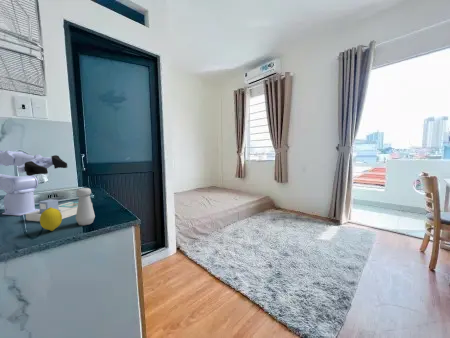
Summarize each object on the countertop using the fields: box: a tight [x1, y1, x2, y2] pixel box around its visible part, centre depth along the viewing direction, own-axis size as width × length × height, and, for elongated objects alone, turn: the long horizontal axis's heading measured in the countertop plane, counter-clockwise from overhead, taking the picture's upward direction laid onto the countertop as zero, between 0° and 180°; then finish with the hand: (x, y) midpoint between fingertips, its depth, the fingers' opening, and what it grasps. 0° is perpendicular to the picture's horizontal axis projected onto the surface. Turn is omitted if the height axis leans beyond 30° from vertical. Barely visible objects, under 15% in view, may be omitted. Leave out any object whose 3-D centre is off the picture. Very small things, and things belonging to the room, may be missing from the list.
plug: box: [38, 198, 59, 214], centre depth 78 cm, size 4×4×7 cm
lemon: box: [39, 207, 63, 232], centre depth 66 cm, size 6×6×8 cm
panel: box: [25, 201, 94, 222], centre depth 83 cm, size 12×18×3 cm, turn 169°
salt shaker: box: [75, 187, 96, 226], centre depth 72 cm, size 6×6×13 cm
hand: (56, 168), depth 79 cm, fingers open, 7 cm apart
